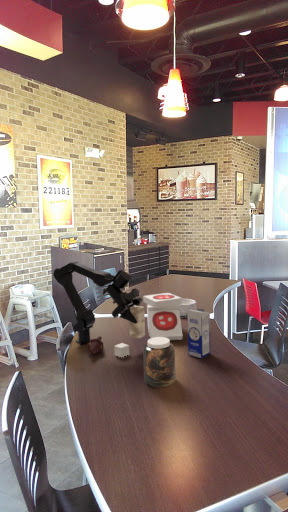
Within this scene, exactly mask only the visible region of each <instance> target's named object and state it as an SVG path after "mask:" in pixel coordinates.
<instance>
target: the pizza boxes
mask: <svg viewBox="0 0 288 512" xmlns="http://www.w3.org/2000/svg"><path fill="white" fill-rule="evenodd" d="M142 298H143V299H142V300H143V301H142V302H143V303H145V304H146V315H147V316H146V317H147V329H148V330H147V331H148V336H149V337H150V338H154V337H165V338H168V339H169V340H170V341H178V340H180V341H181V340H183V337H184V335H183V330H182V323H181V322H182V321H181V316H180V315H179V310H178V305H180V304H182V299H183V298H182V297H180V296H178V295H176V294H172V293H170V292H163V293H156V294H155V293H154V294H148V295H147V294H146V295H143V296H142ZM150 338H149V339H150Z"/></svg>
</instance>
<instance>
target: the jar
mask: <svg viewBox="0 0 288 512" xmlns="http://www.w3.org/2000/svg"><path fill="white" fill-rule="evenodd" d="M142 351H143V352H142V353H143V356H142V357H143V377H144V378H143V379H144V383H145V385H147V386H149V387H150V388H151V387H152V388H156V389H157V388H158V389H159V388H167V387H169V386H172V385H174V384H175V382H176V380H177V379H176V354H175V353H176V352H175V345H174V344H173V343H171V340H169V339H168V338H165V337H154V338H149V339H147V343H146V344H144V346H143V350H142Z"/></svg>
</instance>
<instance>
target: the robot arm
mask: <svg viewBox="0 0 288 512" xmlns="http://www.w3.org/2000/svg"><path fill="white" fill-rule="evenodd" d="M73 273H77V274H78V275H81V276H84V277H86V278H87V279H90V280H92V283H94V284H95V285H96V286H98V287H100V288H103V287H104V288H103V289H102V290H103V291H102V295H107V294H108V295H109V297H110V298H111V299H112V300H113V301H112V303H113V304H116V305H117V306H116V307H115V308H114V309H113V310H112V312H111V316H112V317H113V318H114V319H117V318H121V319H122V320H123V319H124V320H126V321H128V322H129V321H130V322H133V323H135V324H137V321H136V319H135V318H134V316H133V315H132V313H131V311H130V307H133V306H141V303H142V302H143V299H142V298H141V297H140V290H138V289H137V288H136V287H134V288H132V289H131V291H130V292H127V291H123V289H125V288H126V287H127V285H128V284H129V283H130V282H131V280H132V276H131V275H130V274H129V273H128V272H126V271H124V270H123V269H120V270H118V271H117V273H116V274H115V275H112V273H110V272H108V271H102V270H100V271H99V270H96V269H93V268H91V267H89V266H87V265H84V264H82V263H80V262H78V261H71V262H69V263H67V264H66V265H64V266H61V267H57V268H55V269H54V270H53V277H54V279H55V281H57V283H58V284H59V285H61V286H62V287H63V289H64V291H65V294H66V295H67V297H68V299H69V300H70V302H71V305H72V307H73V308H74V311H75V319H76V323H75V324H74V326H73V328H72V329H73V331H74V332H76V333H77V339H76V340H75V342H77V343H78V344H80V345H85V344H88V342H90V341H91V340H92V339H91V331H90V330H91V328H93V327H94V324H95V322H96V315H95V314H94V311H93V309H92V308H87V307H86V306H85V304H84V302H83V300H82V298H81V296H80V294H79V292H78V290H77V288H76V286H75V284H74V282H73ZM119 314H120V315H119Z"/></svg>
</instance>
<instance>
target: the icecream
mask: <svg viewBox="0 0 288 512" xmlns="http://www.w3.org/2000/svg"><path fill="white" fill-rule="evenodd" d="M102 339H103V337H102V336H100V335H99V336H98V337H97V338H92V339H91V341H90V342H88V343H87V348H88V349H87V350H88V351H89V352H90V353H91V354H93V355H100V354H101V353H102V351H104V342H103V341H102Z"/></svg>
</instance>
